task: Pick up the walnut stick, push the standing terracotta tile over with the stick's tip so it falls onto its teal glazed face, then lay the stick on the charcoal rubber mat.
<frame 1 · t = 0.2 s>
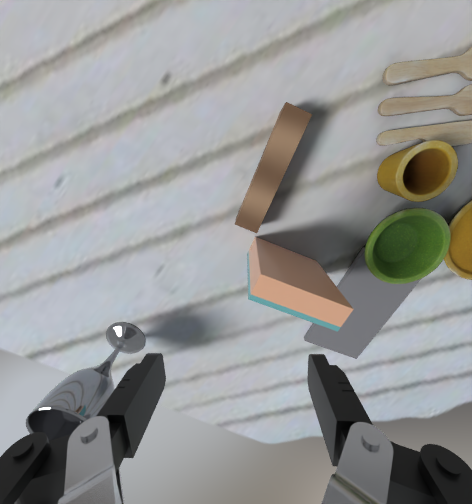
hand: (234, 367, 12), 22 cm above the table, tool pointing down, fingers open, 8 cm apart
terracotta tile: (281, 257, 33), on the table
rubber mat: (358, 306, 35), on the table
wine glass: (126, 337, 40), on the table
walnut stick: (266, 173, 29), on the table
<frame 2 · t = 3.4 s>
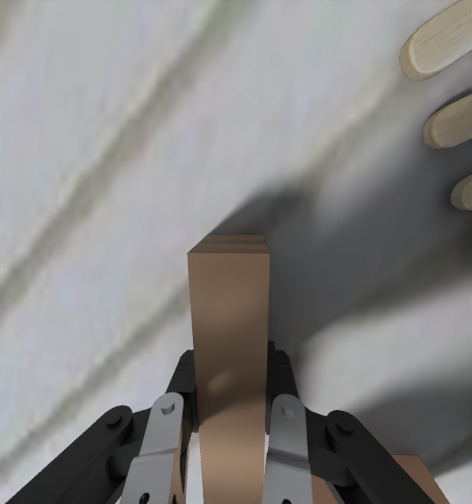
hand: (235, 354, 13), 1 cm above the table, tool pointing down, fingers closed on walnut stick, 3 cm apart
terracotta tile: (340, 468, 15), on the table
walnut stick: (236, 347, 13), on the table, touching gripper
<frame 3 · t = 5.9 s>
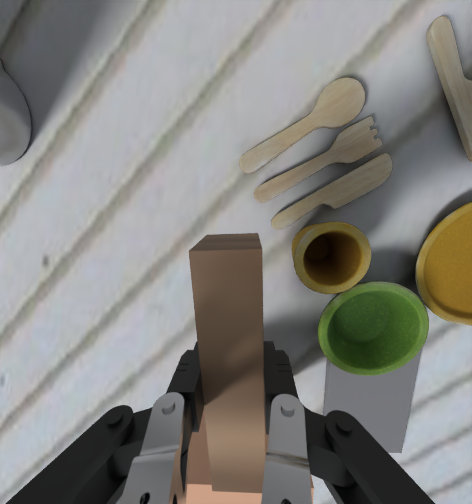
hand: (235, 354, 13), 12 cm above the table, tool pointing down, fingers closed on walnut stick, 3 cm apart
terracotta tile: (244, 371, 27), on the table
rubber mat: (365, 391, 27), on the table
walnut stick: (237, 338, 14), point 10 cm above the table, touching gripper
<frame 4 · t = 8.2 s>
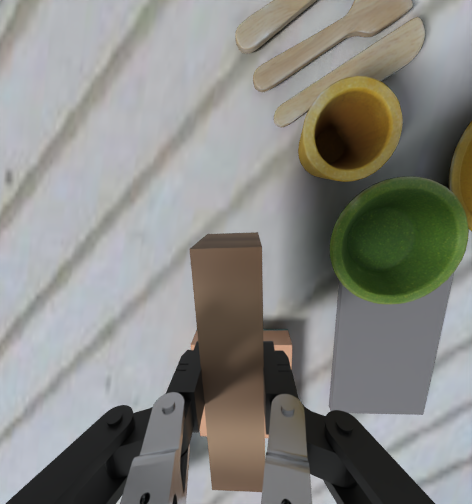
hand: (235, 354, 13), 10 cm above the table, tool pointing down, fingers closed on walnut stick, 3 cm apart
terracotta tile: (241, 335, 23), point 1 cm above the table, tilted 90°
rubber mat: (382, 339, 23), on the table
walnut stick: (237, 337, 15), point 8 cm above the table, touching gripper
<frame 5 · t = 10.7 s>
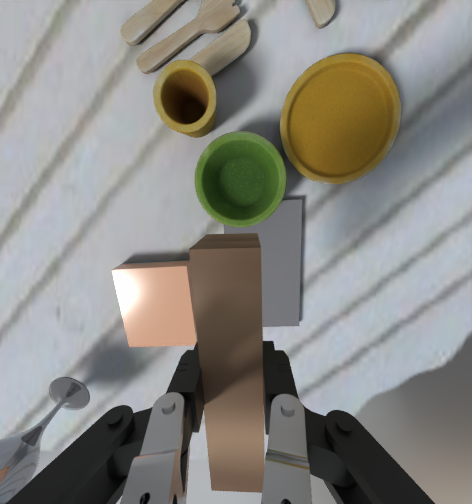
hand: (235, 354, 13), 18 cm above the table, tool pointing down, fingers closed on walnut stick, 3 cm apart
terracotta tile: (153, 264, 30), point 1 cm above the table, tilted 90°
rubber mat: (262, 267, 31), on the table
wine glass: (70, 393, 38), on the table
tableware set: (332, 44, 23), on the table, touching rubber mat
walnut stick: (236, 338, 15), point 17 cm above the table, touching gripper
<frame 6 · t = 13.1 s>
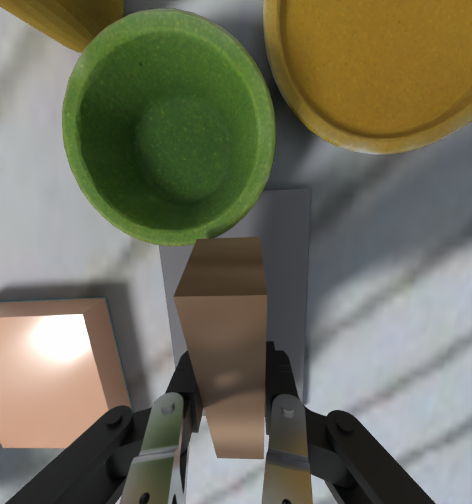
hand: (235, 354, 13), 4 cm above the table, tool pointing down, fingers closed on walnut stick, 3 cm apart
terracotta tile: (32, 306, 16), point 1 cm above the table, tilted 90°
rubber mat: (236, 314, 17), on the table
walnut stick: (236, 335, 14), point 3 cm above the table, tilted 17°, touching gripper, rubber mat, tableware set
when the fingers open (3 cm above the table, at t = 13.9 s): walnut stick stays where it is, resting on rubber mat, tableware set.
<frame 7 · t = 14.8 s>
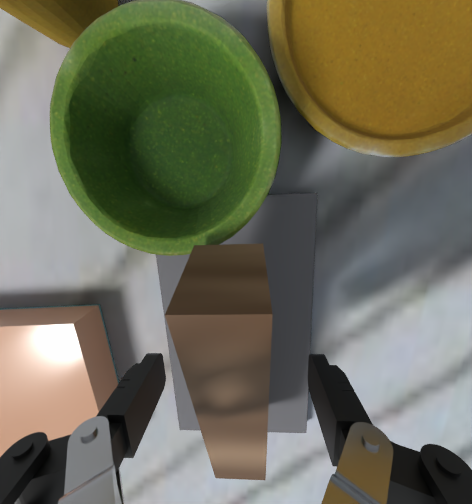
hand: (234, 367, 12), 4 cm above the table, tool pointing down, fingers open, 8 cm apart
terracotta tile: (22, 314, 15), point 1 cm above the table, tilted 90°
rubber mat: (237, 324, 16), on the table
walnut stick: (236, 346, 13), point 3 cm above the table, tilted 17°, touching rubber mat, tableware set
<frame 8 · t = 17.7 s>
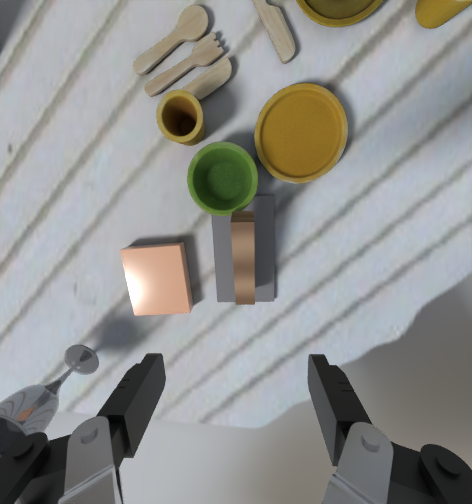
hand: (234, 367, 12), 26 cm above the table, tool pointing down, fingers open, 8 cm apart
terracotta tile: (153, 245, 37), point 1 cm above the table, tilted 90°
rubber mat: (244, 251, 37), on the table
wine glass: (82, 359, 45), on the table
tableware set: (295, 75, 30), on the table, touching rubber mat, walnut stick
walnut stick: (244, 253, 34), point 3 cm above the table, tilted 17°, touching rubber mat, tableware set
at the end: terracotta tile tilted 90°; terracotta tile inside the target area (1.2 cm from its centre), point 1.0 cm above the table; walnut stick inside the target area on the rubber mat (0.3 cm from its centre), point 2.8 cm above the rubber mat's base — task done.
